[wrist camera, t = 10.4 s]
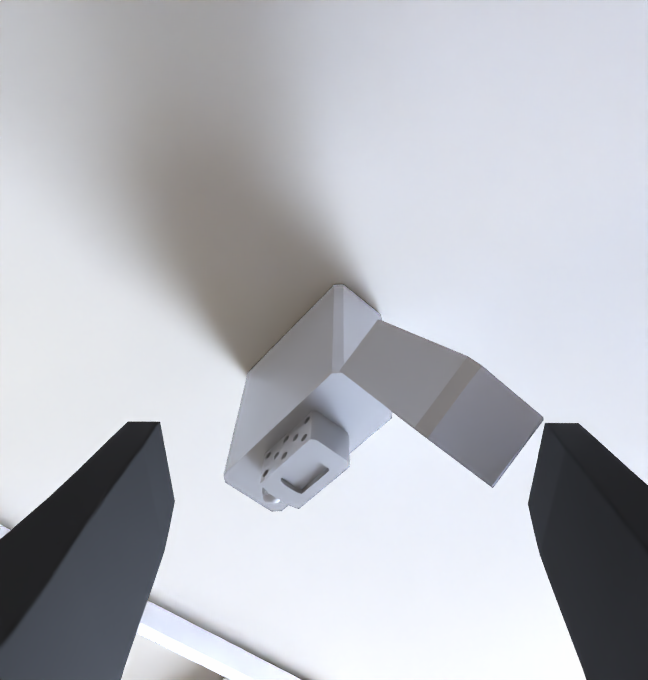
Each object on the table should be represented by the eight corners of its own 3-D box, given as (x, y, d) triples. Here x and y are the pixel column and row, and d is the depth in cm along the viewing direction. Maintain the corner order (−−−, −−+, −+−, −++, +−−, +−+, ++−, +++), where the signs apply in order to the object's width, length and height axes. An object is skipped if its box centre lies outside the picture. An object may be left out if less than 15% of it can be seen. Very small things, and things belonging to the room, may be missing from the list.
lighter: (290, 408, 19) (259, 661, 12) (244, 376, 18) (183, 622, 11) (466, 242, 16) (561, 448, 9) (418, 198, 15) (481, 381, 8)
